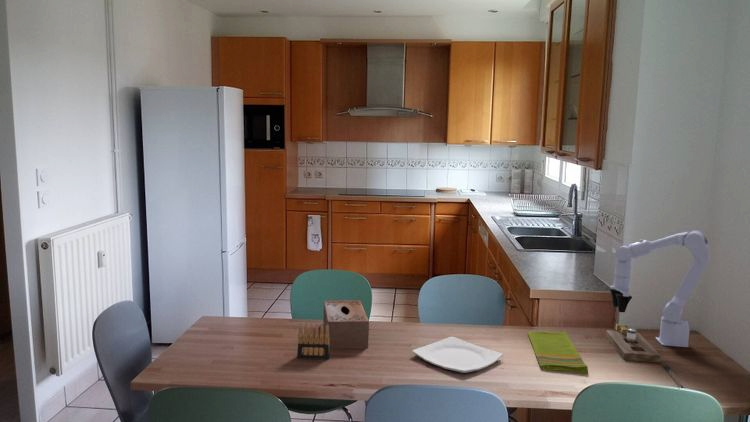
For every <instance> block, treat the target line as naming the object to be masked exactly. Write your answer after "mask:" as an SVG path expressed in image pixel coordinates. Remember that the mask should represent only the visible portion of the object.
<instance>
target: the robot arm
mask: <svg viewBox="0 0 750 422" xmlns="http://www.w3.org/2000/svg"><path fill="white" fill-rule="evenodd" d="M674 245H675V246H679V247H686V249H688V250H689V251H690V252H691V256H692V257H693V259H694V261H693V262H692V264H691V266H690V267H689V269H688V271H687V273H686V274H685V275H684V279H682V282H681V283H680V285H679V287H678V288H677V290H676V291H675V294H674V295H673V297H672V299H671V300H669V301H668V302H667V303H666V304H665V305H664V306H665V307H663V309H662V310H661V311H662V312H661V315H662V317H660V318H661V319H660V328H659V336H655V338H654V339H655V340H657V342H659V344H660V345H661V346H667V347H678V348H679V347H683V348H689V337H690V324H689V323H688V321H684V320H683V319H682V314H683V312H684V306H685V304H686V302H687V300H688V299H689V297H690V296H691V294H692V292H693V291H694V289H695V288H696V285H697V284H698V282H699V280H700V279H701V277H702V275H703V273H704V271H705V269H706V268H707V266H708V265H709V262H710V261H711V254H710V248H709V247H710V245H709V241H708V239H707V237H706V235H705V233H704V232H702V231H701V230H697V229H696V230H692V231H691V230H690V231H684V232H679V233H675V234H672V235H669V236H668V235H667V236H666V237H662V238H659V239H656V240H653V241H650V240H647V239H643V238H641V239H639V240H638V241H636V242H634V243H626V245H622V246H620V247H618V248H617V249H616V250H615V252H614V253H615V254H614V256H615V265H614V266H615V267H614V275H613V276H614V277H613V285H610V286H609V287H610V288H609V291H610V294H611V298H612V306H613V307H614V308H618V313H625V312H626V310H627V308H628V305H629V303H630V301H631V300H632V299H633V296H632V295H630V280H631V279H630V278H631V269H632V259H637V258H642V257H645V256H649V255H652V254H653V252H654V251H655V250H657V249H662V248H666V247H670V246H674Z"/></svg>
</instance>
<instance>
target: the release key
mask: <svg viewBox="0 0 750 422" xmlns="http://www.w3.org/2000/svg"><path fill="white" fill-rule="evenodd" d="M628 326H629V325H628V324H624V323H623V324H622V323H616V324H615V331H620V332H621V333H622V334H627V329H628V328H629V327H628Z"/></svg>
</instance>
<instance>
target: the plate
mask: <svg viewBox="0 0 750 422" xmlns="http://www.w3.org/2000/svg"><path fill="white" fill-rule="evenodd" d="M411 352H412V353H413V354H414V355H415V356H417V357H419V358H420V359H421V360H424V361H426V362H427V363H430V364H432V365H435V366H438V367H440V368H442V369H446V370H449V371H453V372H458V373H461V374H466V373H472V372H476V371H479V370H483V369H485V368H487V367H489V366H491V365H494V363H496V362H497V361H498V360H499V359H501V358H502V357H503V356H504V353H502V352H499V351H496V350H495V351H494V350H492V349H488V348H485V347H483V346H478V345H477V344H474V343H471V342H468V341H465V340H464V339H460V338H457V337H455V336H449V337H446V338H443V339H441V340H438V341H435V342H432V343H430V344H427V345H424V346H421V347H418V348H414V349H412V350H411Z"/></svg>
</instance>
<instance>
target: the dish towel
mask: <svg viewBox="0 0 750 422" xmlns="http://www.w3.org/2000/svg"><path fill="white" fill-rule="evenodd" d="M527 336H528V338H529V340H530V343H531V345H532V349H533V352H534V354H535V356H536V360H537V362H538V365H539V367H540V370H543V371H552V372H559V373H560V372H561V373H571V374H572V373H573V374H574V373H575V374H583V375H584V374H586V375H588V374H589V369H588V365H587V364H586V363H585V362H584V360H583V358H582V357H581V355H580V353H579V352H578V350H577V348H576V347H575V345H574V343H573V342H572V341H571V338H570V336H569V335H568V334H567V331H566V330H565V331H561V332H559V331H558V332H557V331H555V332H553V331H552V332H551V331H536V330H535V331H528V332H527Z"/></svg>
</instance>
